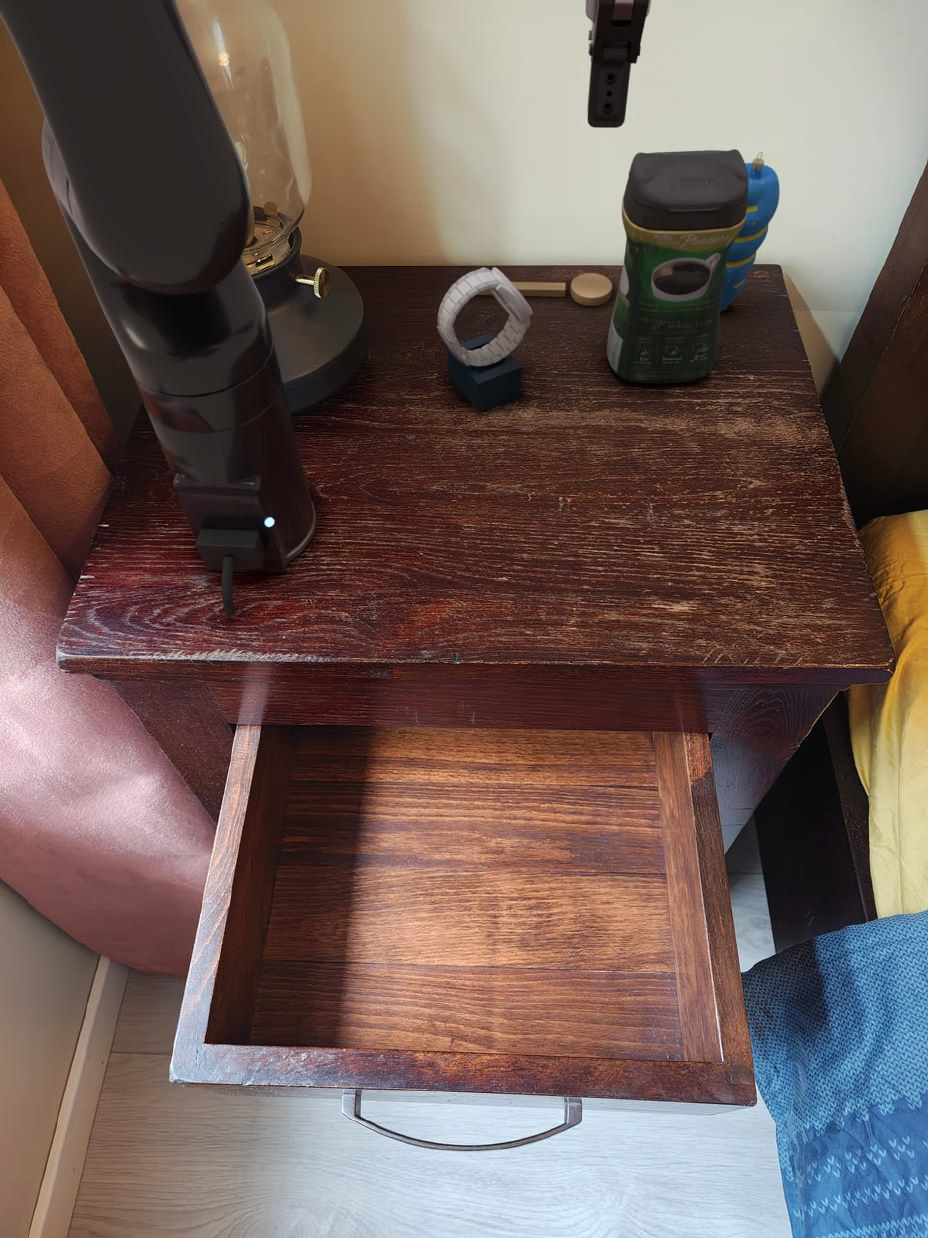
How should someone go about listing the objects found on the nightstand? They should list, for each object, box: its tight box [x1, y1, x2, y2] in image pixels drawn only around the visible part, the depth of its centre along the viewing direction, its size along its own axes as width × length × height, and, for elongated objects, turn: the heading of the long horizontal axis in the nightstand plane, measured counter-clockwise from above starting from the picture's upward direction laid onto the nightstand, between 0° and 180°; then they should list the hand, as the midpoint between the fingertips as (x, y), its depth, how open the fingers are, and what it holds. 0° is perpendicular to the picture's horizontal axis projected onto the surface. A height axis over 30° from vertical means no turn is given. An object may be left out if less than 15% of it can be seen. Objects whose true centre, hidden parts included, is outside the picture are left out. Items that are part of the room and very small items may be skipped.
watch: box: [436, 266, 534, 413], centre depth 77 cm, size 6×8×11 cm
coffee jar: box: [606, 148, 748, 384], centre depth 76 cm, size 10×8×19 cm
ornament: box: [720, 151, 781, 312], centre depth 81 cm, size 5×5×15 cm
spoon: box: [475, 272, 613, 307], centre depth 89 cm, size 4×14×1 cm, turn 86°
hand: (605, 121), depth 55 cm, fingers closed
